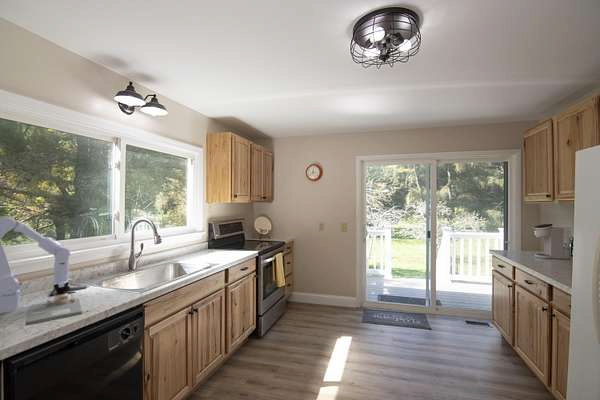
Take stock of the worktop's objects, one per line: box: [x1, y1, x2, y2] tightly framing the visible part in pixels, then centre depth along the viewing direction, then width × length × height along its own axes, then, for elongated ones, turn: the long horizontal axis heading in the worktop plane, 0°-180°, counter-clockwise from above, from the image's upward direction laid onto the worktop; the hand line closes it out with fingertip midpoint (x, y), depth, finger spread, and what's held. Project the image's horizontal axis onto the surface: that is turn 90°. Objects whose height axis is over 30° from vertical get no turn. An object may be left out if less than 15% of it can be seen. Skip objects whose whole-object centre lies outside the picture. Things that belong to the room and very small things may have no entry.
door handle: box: [48, 285, 88, 298], centre depth 155 cm, size 3×20×16 cm
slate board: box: [25, 296, 83, 327], centre depth 127 cm, size 18×23×3 cm
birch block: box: [53, 293, 69, 305], centre depth 135 cm, size 5×5×4 cm
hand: (60, 298), depth 138 cm, fingers closed
